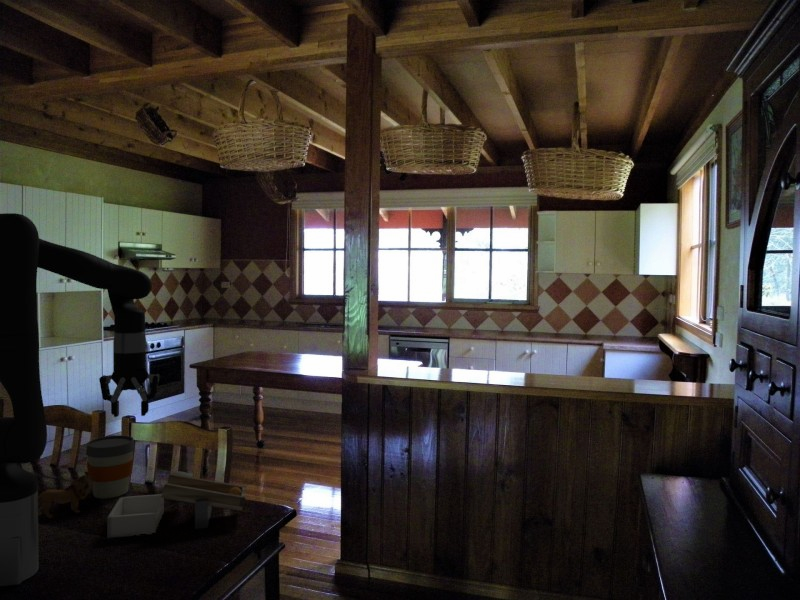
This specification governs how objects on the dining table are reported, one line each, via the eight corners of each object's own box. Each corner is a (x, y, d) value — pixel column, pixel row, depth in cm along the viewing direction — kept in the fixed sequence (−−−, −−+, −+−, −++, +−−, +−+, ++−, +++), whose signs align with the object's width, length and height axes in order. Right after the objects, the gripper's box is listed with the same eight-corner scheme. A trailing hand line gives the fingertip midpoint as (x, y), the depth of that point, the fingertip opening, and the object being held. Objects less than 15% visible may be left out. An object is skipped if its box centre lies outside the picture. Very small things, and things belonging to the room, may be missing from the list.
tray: (154, 533, 134) (154, 513, 134) (107, 538, 132) (107, 517, 132) (163, 512, 147) (163, 493, 147) (120, 515, 144) (120, 497, 144)
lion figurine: (91, 503, 152) (90, 471, 152) (95, 509, 148) (95, 476, 148) (27, 517, 143) (27, 482, 142) (29, 524, 139) (29, 489, 138)
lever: (241, 513, 141) (245, 498, 141) (160, 500, 136) (164, 485, 136) (243, 488, 158) (247, 474, 158) (171, 475, 153) (175, 462, 153)
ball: (239, 502, 144) (242, 490, 144) (226, 500, 143) (230, 488, 143) (239, 497, 147) (243, 486, 147) (227, 495, 146) (231, 484, 146)
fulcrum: (207, 528, 138) (207, 500, 138) (194, 529, 137) (195, 501, 137) (211, 509, 149) (211, 484, 149) (200, 510, 148) (200, 484, 148)
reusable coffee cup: (90, 487, 163) (89, 437, 163) (136, 482, 168) (136, 433, 167) (82, 503, 152) (81, 449, 151) (132, 497, 156) (132, 445, 155)
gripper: (94, 352, 134) (94, 420, 134) (157, 351, 137) (157, 418, 138) (102, 348, 141) (103, 413, 142) (163, 347, 144) (163, 411, 145)
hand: (130, 415), depth 140 cm, fingers open, 5 cm apart
